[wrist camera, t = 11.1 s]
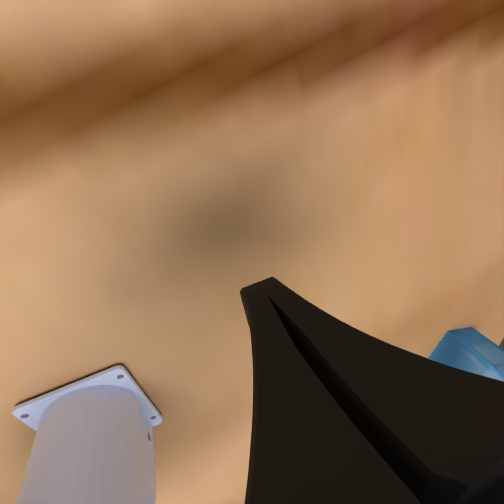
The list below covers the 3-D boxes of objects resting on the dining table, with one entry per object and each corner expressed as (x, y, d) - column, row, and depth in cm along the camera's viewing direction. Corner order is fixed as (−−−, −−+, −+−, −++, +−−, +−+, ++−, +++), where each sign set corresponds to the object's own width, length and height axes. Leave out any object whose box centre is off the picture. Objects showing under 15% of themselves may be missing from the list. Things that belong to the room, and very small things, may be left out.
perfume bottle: (471, 327, 43) (568, 396, 33) (450, 354, 46) (534, 425, 36) (447, 330, 40) (544, 406, 31) (426, 359, 43) (510, 437, 34)
